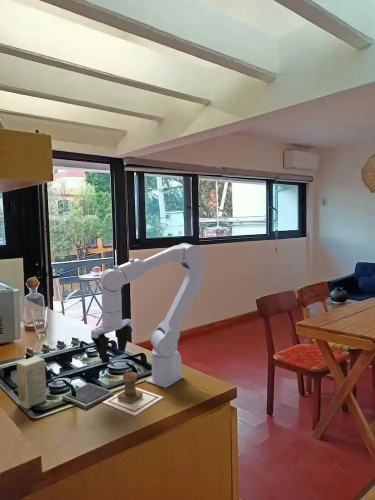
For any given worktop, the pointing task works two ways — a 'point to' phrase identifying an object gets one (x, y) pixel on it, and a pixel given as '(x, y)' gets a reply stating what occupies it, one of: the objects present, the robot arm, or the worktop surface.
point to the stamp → (130, 389)
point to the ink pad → (88, 395)
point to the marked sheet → (137, 406)
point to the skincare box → (31, 381)
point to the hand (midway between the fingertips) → (112, 354)
